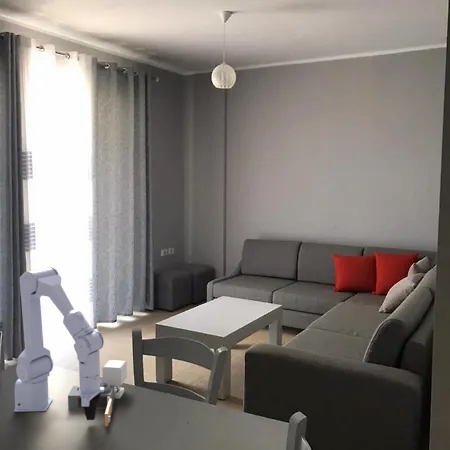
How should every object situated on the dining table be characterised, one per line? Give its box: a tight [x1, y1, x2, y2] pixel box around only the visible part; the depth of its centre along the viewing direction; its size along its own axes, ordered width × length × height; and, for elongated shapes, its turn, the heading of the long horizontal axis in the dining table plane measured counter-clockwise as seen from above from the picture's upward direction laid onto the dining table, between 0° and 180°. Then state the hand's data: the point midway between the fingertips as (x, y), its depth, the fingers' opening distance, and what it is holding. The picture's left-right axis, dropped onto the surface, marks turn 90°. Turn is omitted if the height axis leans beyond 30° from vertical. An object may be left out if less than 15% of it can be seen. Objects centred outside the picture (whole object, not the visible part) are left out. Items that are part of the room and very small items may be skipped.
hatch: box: [104, 396, 113, 427], centre depth 155 cm, size 11×2×4 cm, turn 5°
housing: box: [67, 382, 116, 411], centre depth 163 cm, size 13×7×6 cm, turn 93°
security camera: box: [101, 359, 128, 399], centre depth 171 cm, size 6×7×10 cm
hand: (90, 419), depth 151 cm, fingers closed
